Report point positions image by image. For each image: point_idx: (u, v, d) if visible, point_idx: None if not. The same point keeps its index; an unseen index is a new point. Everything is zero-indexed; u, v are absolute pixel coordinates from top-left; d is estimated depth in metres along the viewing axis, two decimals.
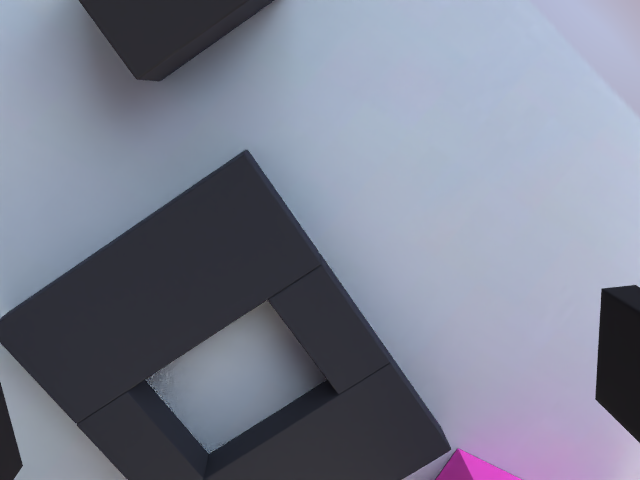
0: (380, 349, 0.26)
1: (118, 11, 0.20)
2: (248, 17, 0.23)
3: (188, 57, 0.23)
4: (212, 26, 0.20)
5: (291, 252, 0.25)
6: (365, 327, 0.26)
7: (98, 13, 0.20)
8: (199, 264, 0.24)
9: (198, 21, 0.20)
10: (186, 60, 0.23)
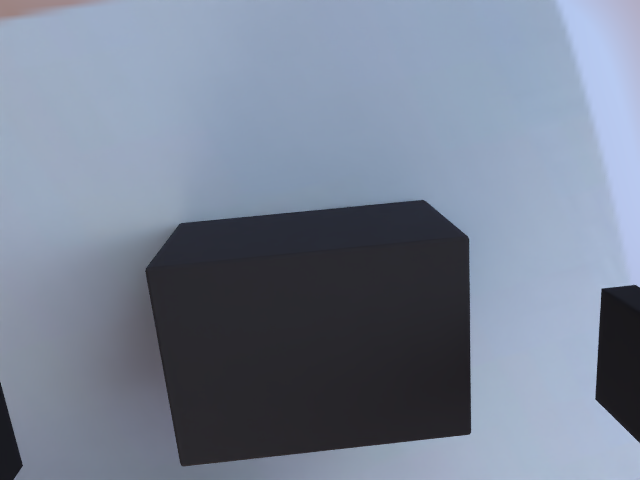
0: None
1: (206, 380, 0.12)
2: None
3: None
4: (324, 448, 0.13)
5: None
6: None
7: (176, 371, 0.12)
8: None
9: (309, 438, 0.13)
10: None
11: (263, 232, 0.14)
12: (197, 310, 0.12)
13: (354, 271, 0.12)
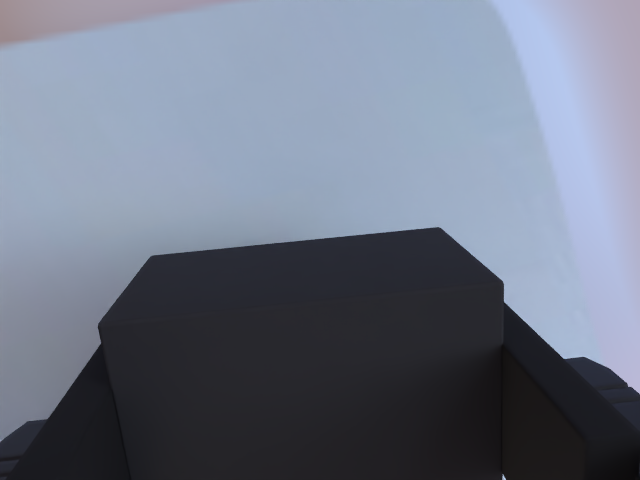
0: None
1: (176, 459, 0.10)
2: None
3: None
4: None
5: None
6: None
7: (139, 448, 0.10)
8: None
9: None
10: None
11: (249, 270, 0.11)
12: (164, 375, 0.10)
13: (360, 325, 0.10)
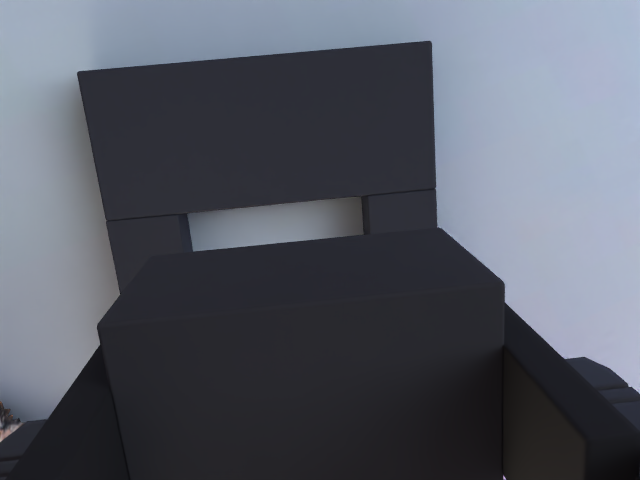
0: None
1: (176, 460, 0.10)
2: None
3: None
4: None
5: (416, 160, 0.23)
6: None
7: (138, 450, 0.10)
8: (326, 125, 0.22)
9: None
10: None
11: (248, 270, 0.11)
12: (163, 375, 0.09)
13: (361, 325, 0.09)
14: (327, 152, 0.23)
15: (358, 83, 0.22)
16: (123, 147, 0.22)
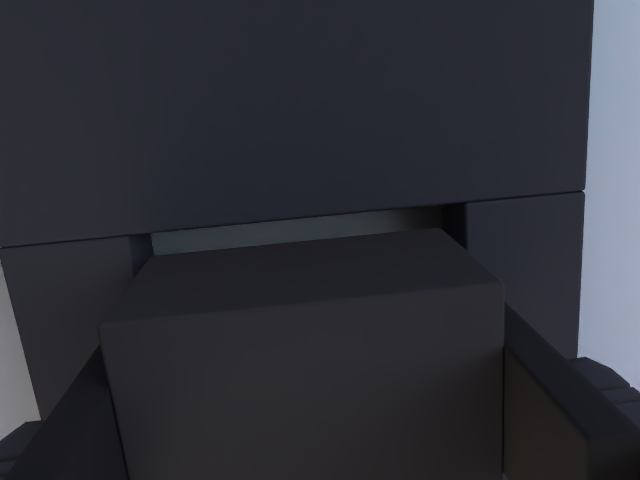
0: None
1: (176, 461, 0.10)
2: None
3: None
4: None
5: (555, 141, 0.13)
6: (577, 333, 0.14)
7: (138, 450, 0.10)
8: (397, 74, 0.12)
9: None
10: None
11: (248, 271, 0.11)
12: (163, 376, 0.09)
13: (361, 326, 0.09)
14: (397, 125, 0.13)
15: None
16: (23, 113, 0.12)
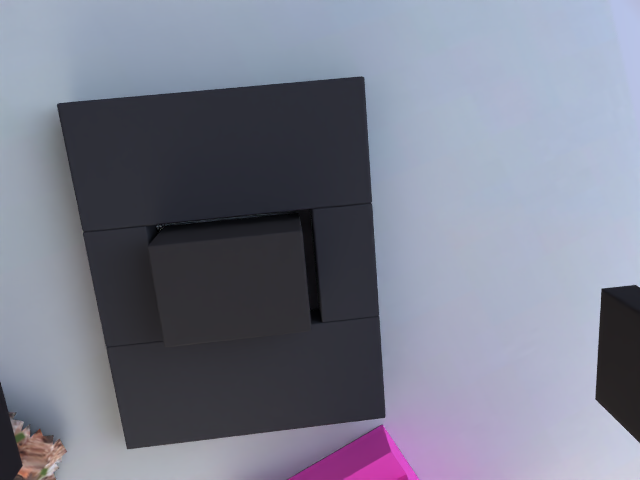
0: (377, 300, 0.28)
1: (176, 301, 0.25)
2: None
3: None
4: (237, 338, 0.26)
5: (354, 179, 0.27)
6: (376, 275, 0.28)
7: (162, 296, 0.25)
8: (274, 148, 0.26)
9: (229, 332, 0.26)
10: None
11: (207, 230, 0.27)
12: (172, 266, 0.25)
13: (247, 247, 0.25)
14: (276, 172, 0.26)
15: (301, 112, 0.26)
16: (97, 168, 0.26)
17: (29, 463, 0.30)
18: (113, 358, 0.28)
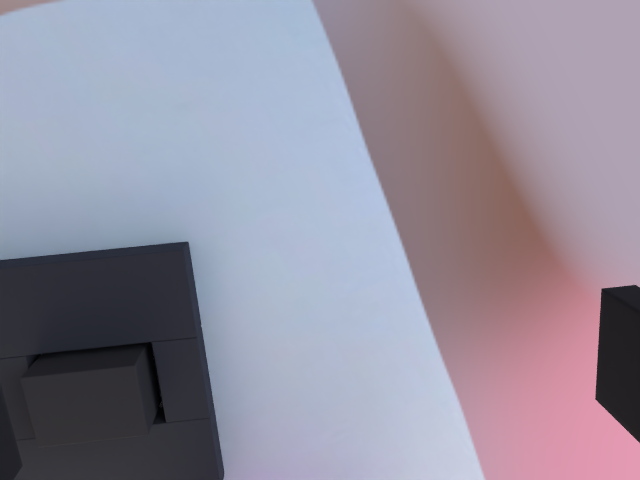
0: (207, 406, 0.37)
1: (44, 415, 0.34)
2: None
3: None
4: (92, 440, 0.35)
5: (181, 320, 0.35)
6: (205, 388, 0.37)
7: (33, 412, 0.34)
8: (119, 300, 0.35)
9: (85, 437, 0.35)
10: None
11: (72, 357, 0.36)
12: (39, 391, 0.34)
13: (94, 377, 0.34)
14: (121, 316, 0.35)
15: (137, 275, 0.35)
16: None
17: None
18: None
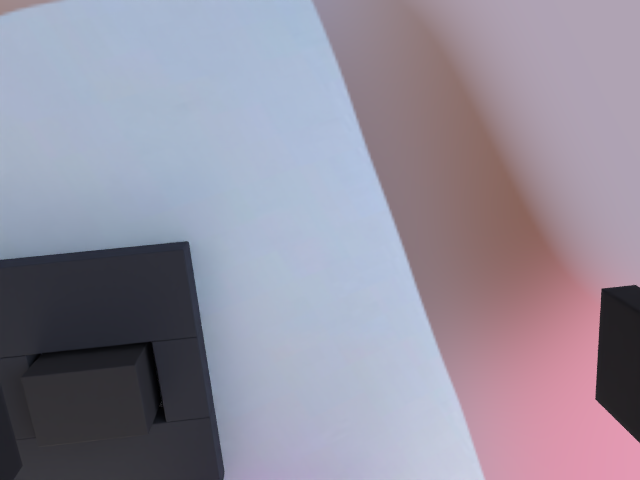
0: (207, 406, 0.37)
1: (45, 415, 0.34)
2: None
3: None
4: (93, 440, 0.35)
5: (181, 320, 0.36)
6: (205, 388, 0.37)
7: (33, 412, 0.34)
8: (119, 300, 0.35)
9: (86, 436, 0.35)
10: None
11: (72, 357, 0.36)
12: (39, 391, 0.34)
13: (95, 377, 0.34)
14: (121, 316, 0.35)
15: (138, 275, 0.35)
16: None
17: None
18: None
